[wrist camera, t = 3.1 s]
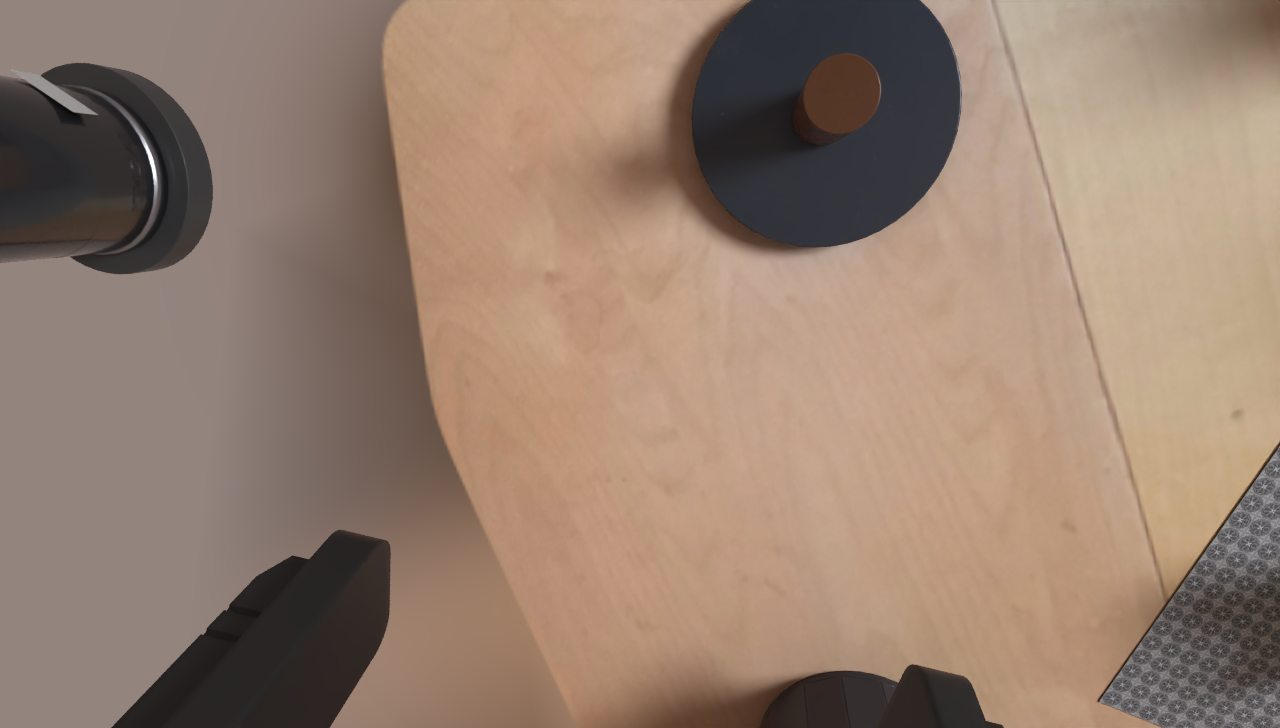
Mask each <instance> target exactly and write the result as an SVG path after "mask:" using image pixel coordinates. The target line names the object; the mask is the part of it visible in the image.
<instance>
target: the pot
mask: <svg viewBox="0 0 1280 728" xmlns="http://www.w3.org/2000/svg"><path fill="white" fill-rule="evenodd" d="M897 685H898V683H897V682H895V681H892V680H890V679H887V678H885V677H881V676H877V675H874V674H869V673H863V672H851V671H842V672H830V673H824V674H819V675H816V676H812V677H809V678H807V679H804V680H802V681H800V682H798V683H796V684H794V685H793V686H791V687H789V688H788V689H787V690H785V691H784V692H783V693H781V694H780V695H779V696H778V697H777V698H776V699H775V700H774V701H773V703H772V704H771V706H770V707H769V708H768V710H767V712H766V714H765V716H764V718H763V720H762V723H761V727H760V728H877V726H878V724H879V722H880V720H881V718H882V716H883V714H884V712H885V710H886V708H887V706H888V704H889V702H890V700H891V698H892V696H893V694H894V692H895V689H896V687H897Z"/></svg>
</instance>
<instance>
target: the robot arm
mask: <svg viewBox="0 0 1280 728" xmlns="http://www.w3.org/2000/svg"><path fill="white" fill-rule="evenodd" d="M11 71H13V72H14V73H16V74H17V75H18V76H20V77H21V78H23V79H18V78H11V77H4V76H0V263H5V262H16V261H26V260H35V259H45V258H59V257H69V256H79V255H89V254H97V255H106V254H116V253H124V252H128V251H132V250H134V249H136V248H139V247H140V246H142V245H143V244H145V243H146V242H147V241H148V240H149V239H150V238H151V237H152V236H153V235H154V234H155V233H156V231H157V230H158V228H159V226H160V225H161V222H162V220H163V218H164V215H165V211H166V207H167V201H168V178H167V171H166V167H165V163H164V160H163V156H162V153H161V151H160V148H159V146H158V144H157V142H156V140H155V138H154V136H153V135H152V133H151V131H150V130H149V128H148V127H147V125H146V124H145V123H144V121H143V120H142V119H141V118H140V117H139V115H138V114H137V113H136V112H135V111H134V110H133V109H131V108H130V107H129V106H128V105H127V104H125V103H124V102H123V101H122V100H120V99H118V98H117V97H115V96H113V95H111V94H109V93H107V92H105V91H102V90H99V89H95V88H90V87H83V86H76V85H57V84H52V83H50V82H49V81H47V80H46V79H44V78H43V77H41V76H40V75H38V74H34V73H28V72H22V71H16V70H11ZM389 605H390V545H389V542H388V541H386V540H382V539H378V538H374V537H369V536H365V535H361V534H357V533H353V532H348V531H344V530H338V531H335V532H334V533H333V534H332V535H331V536H330V537H329V538H328V539H327V540H326V541H325V542H324V543H323V545H322V546H321V547H320V548H319V549H318V550H317V551H316V552H315V553H314V555H313V556H312V557H311V558H310V559H305V558H301V557H296V556H291V557H289V558H288V559H286V560H284V561H283V562H281V563H279V564H277V565H275V566H274V567H272V568H270V569H268V570H267V571H265V572H263V573H262V574H260V575H258V576H256V577H255V579H254V580H253V581H252V582H251V583H250V584H249V585H248V586H247V587H246V588H245V589H244V590H243V591H242V592H241V593H240V594H239V595H238V596H237V597H236V598H235V599H234V601H232V603H231V604H230V606H229V608H228V610H227V611H226V610H224V611H223V612H222V613H221V614H220V615H219V616H218V617H217V618H216V619H215V620H214V621H213V622H212V623H211V624H210V625H209V627H208V628H207V631H206V633H205V634H204V635H200V636H199V637H198V638H197V639H196V640H195V641H194V642H193V643H192V644H191V646H189V647H188V648H187V649H186V651H185V652H184V653H183V654H182V655H181V656H180V657H179V658H178V659H177V660H176V661H175V662H174V663H173V664H172V665H171V666H170V667H169V668H168V669H167V670H166V671H165V672H164V673H163V674H162V675H161V677H160V678H159V679H158V680H157V681H156V682H155V683H154V684H153V685H152V686H151V687H150V688H149V689H148V690H147V691H146V692H145V693H144V694H143V695H142V696H141V697H140V698H139V699H138V700H137V702H136V703H135V704H134V705H133V706H132V707H131V708H130V709H129V710H128V711H127V712H126V713H125V714H124V715H123V716H122V717H121V718H120V719H119V720H118V721H117V722H116V723H115V724H114V726H113V727H112V728H330V726H331V725H332V723H333V721H334V720H335V718H336V717H337V715H338V713H339V712H340V710H341V709H342V707H343V705H344V704H345V702H346V700H347V699H348V697H349V696H350V694H351V693H352V691H353V689H354V688H355V686H356V685H357V683H358V681H359V679H360V678H361V677H362V675H363V673H364V672H365V670H366V669H367V667H368V665H369V664H370V662H371V661H372V659H373V657H374V656H375V654H376V652H377V650H378V648H379V646H380V644H381V642H382V639H383V637H384V634H385V631H386V627H387V623H388V619H389V607H390V606H389ZM877 728H1004V727H1003V726H1002V725H1000V724H996V723H992V722H987V721H986V720H985V718H984V715H983V713H982V710H981V707H980V705H979V702H978V699H977V697H976V694H975V691H974V689H973V687H972V685H971V683H970V681H969V680H968V679H967V678H965V677H964V676H960V675H956V674H952V673H947V672H943V671H939V670H935V669H931V668H926V667H922V666H918V665H913V664H912V665H910V666H908V667H907V668H906V670H905V671H904V673H903V675H902V677H901V679H900V681H899V683H898V685H897V687H896V689H895V692H894V694H893V696H892V698H891V700H890V702H889V704H888V706H887V708H886V710H885V712H884V714H883V716H882V718H881V720H880V722H879V724H878V726H877Z"/></svg>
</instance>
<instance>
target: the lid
mask: <svg viewBox="0 0 1280 728" xmlns="http://www.w3.org/2000/svg"><path fill="white" fill-rule="evenodd" d="M961 97H962V91H961V80H960V72H959V68H958V64H957V59H956V56H955V53H954V50H953V48H952V45H951V43H950V40H949V38H948V36H947V34H946V33H945V31H944V29H943V27H942V26H941V24H940V22H939V21H938V20H937V19H936V17H935V16H934V15H933V13H932V12H931V11H930V9H929V8H928V7H926V6H925V5H924V4H923V3H922V2H921V1H920V0H752V1H750V2H749V3H748V4H746V5H745V6H744V7H743V8H742V9H741V10H740V11H739V12H738V13H737V14H736V15H735V16H734V17H733V18H732V19H731V20H730V21H729V23H728V24H727V25H726V26H725V28H724V29H723V30H722V31H721V33H720V34H719V36H718V37H717V39H716V41H715V42H714V44H713V45H712V47H711V49H710V51H709V53H708V55H707V57H706V59H705V61H704V64H703V66H702V69H701V72H700V75H699V78H698V81H697V84H696V89H695V94H694V99H693V110H692V131H693V140H694V146H695V152H696V155H697V159H698V162H699V165H700V168H701V171H702V173H703V175H704V177H705V179H706V182H707V184H708V185H709V187H710V189H711V190H712V192H713V193H714V195H715V196H716V198H717V199H718V200H719V202H720V203H721V204H722V205H723V206H724V208H725V209H726V210H727V211H728V212H729V213H730V214H731V215H733V216H734V217H735V218H736V219H737V220H738V221H739V222H741V223H742V224H744V225H745V226H746V227H748V228H749V229H751V230H752V231H754V232H756V233H758V234H760V235H762V236H764V237H766V238H769V239H772V240H775V241H778V242H780V243H785V244H789V245H794V246H802V247H830V246H836V245H841V244H847V243H850V242H853V241H857V240H860V239H863V238H865V237H868V236H870V235H872V234H874V233H876V232H879V231H881V230H882V229H884V228H886V227H887V226H889V225H890V224H892V223H894V222H895V221H897V220H898V219H899V218H900V217H902V216H903V215H904V214H906V213H907V212H908V211H909V210H910V209H911V208H912V207H913V206H914V205H915V204H916V203H917V202H918V201H919V200H920V199H921V198H922V197H923V196H924V195H925V194H926V192H927V191H928V190H929V189H930V187H931V186H932V185H933V183H934V182H935V180H936V179H937V177H938V176H939V174H940V172H941V171H942V169H943V167H944V165H945V163H946V161H947V159H948V157H949V154H950V152H951V150H952V147H953V144H954V141H955V137H956V134H957V131H958V125H959V120H960V114H961Z"/></svg>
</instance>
